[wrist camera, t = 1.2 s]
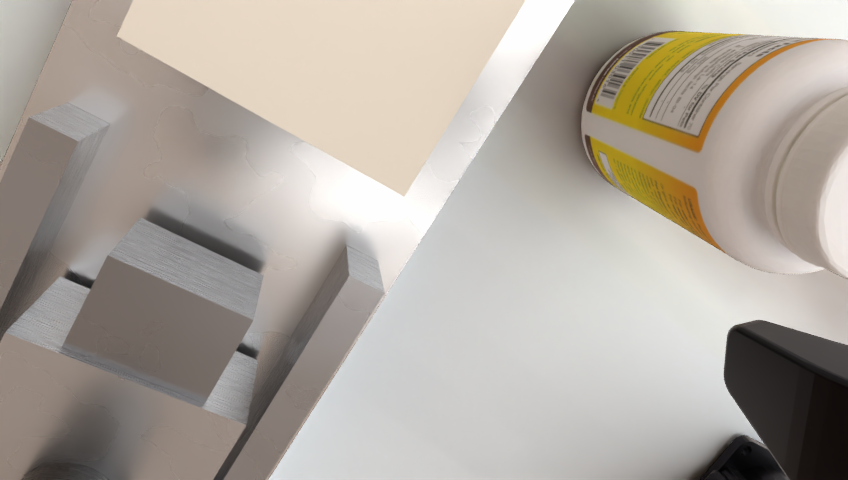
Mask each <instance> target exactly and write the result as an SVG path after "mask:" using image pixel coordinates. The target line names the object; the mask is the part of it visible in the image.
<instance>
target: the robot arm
mask: <svg viewBox="0 0 848 480" xmlns="http://www.w3.org/2000/svg"><path fill="white" fill-rule="evenodd" d="M724 380H725V384H726V387H727V389H728V391H729V393H730V394H731V396H732V397H733V399H734V400H735V402H736V403H737V405H738V406H739V408H740V409H741V410H742V412H743V413H744V415H745V416H746V418H747V419H748V421H749V422H750V424H751V425H752V427H753V428H754V429H755V431H756V432H757V434H758V435H759V437H760V438H761V440H762V441H763V443H764V444H765V445H763V444H762V443H760V442H758V441H756V440H754V439H752V438H750V437H748V436H740V437H738V438H736V439H735V440H734V441H733V442H732V443H731V444H730V445H729V446H728V448H727V449H726V450H725V451H724V452H723V453H722V455H721V456H720V457H719V458H718V459H717V460H716V462H715V463H714V464H713V465H712V466H711V467H710V469H709V470H708V471H707V472H706V473H705V474H704V475H703V477H702V478H701V479H700V480H848V345H845V344H841V343H838V342H835V341H831V340H828V339H824V338H821V337H818V336H814V335H811V334H808V333H804V332H801V331H797V330H794V329H791V328H787V327H784V326H780V325H777V324H774V323H770V322H767V321H763V320H755V321H751V322H747V323H743V324H738V325H735V326H733V327H732V328H731V329H730V330H729V332H728V335H727V344H726V354H725V365H724Z"/></svg>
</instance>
